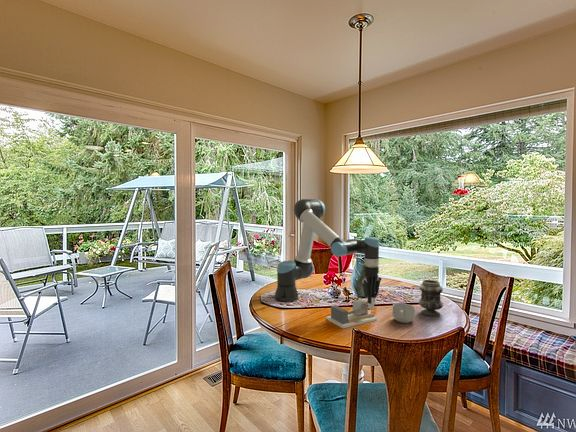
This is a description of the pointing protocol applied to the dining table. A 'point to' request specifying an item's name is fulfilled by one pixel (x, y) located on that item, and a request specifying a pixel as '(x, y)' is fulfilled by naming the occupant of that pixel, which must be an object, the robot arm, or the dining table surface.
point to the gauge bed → (348, 317)
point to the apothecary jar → (430, 297)
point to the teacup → (403, 312)
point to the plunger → (360, 308)
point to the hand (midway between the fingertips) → (371, 308)
